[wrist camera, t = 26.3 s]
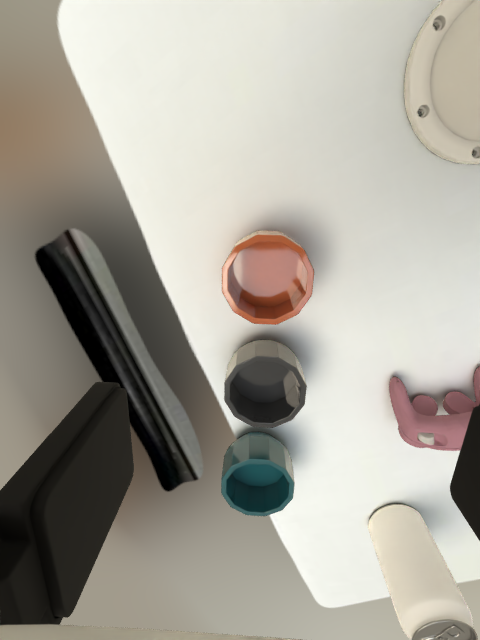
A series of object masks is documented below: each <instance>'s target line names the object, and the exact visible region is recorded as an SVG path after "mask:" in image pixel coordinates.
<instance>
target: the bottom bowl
mask: <svg viewBox="0 0 480 640" xmlns="http://www.w3.org/2000/svg"><path fill="white" fill-rule="evenodd" d="M306 387H307V386H306V382H305V378H304V374H303V371H302V367H301V365H300V363H299V361H298V359H297V357H296V355H295V354H294V352H293V351H291V350H290V349H289V348H288V347H287V346H285V345H283V344H281V343H279V342H276V341H272V340H256V341H252V342H250V343H247V344H245V345H243V346H242V347H241V348H239V349H238V350H237V351H236V352H235V354H234V355H233V356H232V358H231V360H230V362H229V364H228V367H227V372H226V378H225V396H224V400H225V402H226V404H227V405H228V407H229V409H230V410H231V412H232V413H233V415H234V416H235V417H236V418H238V419H240V420H241V421H243V422H245V423H247V424H249V425H251V426H253V427H269V428H273V427H276V426H279V425H281V424H283V423H286V422H288V421H291V420H292V419H293V418H294V417H295V416H296V415H297V413H298V412H299V411H300V410H301V408H302V407H303V406H304V404H305V396H306Z"/></svg>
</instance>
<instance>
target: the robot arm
mask: <svg viewBox="0 0 480 640" xmlns="http://www.w3.org/2000/svg"><path fill="white" fill-rule="evenodd" d="M433 25H435V26H436V30H435V29H434V28H433ZM404 101H405V106H406V111H407V116H408V119H409V121H410V124H411V126H412V129H413V131H414V132H415V134H416V135H417V137H418V138H419V140H420V141H421V142H422V143H423V144H424V145H425V146H426V147H427V148H428V149H429V150H430V151H431V152H432V153H434V154H436V155H438V156H439V157H441V158H443V159H445V160H449V161H452V162H455V163H461V164H480V0H442V1H441V3H440V4H439V5H438V6H437V7H436V8H435V9H434V10H433V12H432V13H431V15H430V16H429V17H428V19H427V20H426V22H425V23H424V25H423V26H422V28H421V30H420V32H419V34H418V36H417V38H416V40H415V42H414V44H413V46H412V50H411V53H410V56H409V59H408V62H407V67H406V73H405V79H404ZM418 110H419V111H421V116H420V117H419V115H418ZM472 151H473V152H474V154H473V156H472ZM133 471H134V464H133V454H132V443H131V433H130V422H129V412H128V401H127V392H126V389H123V388H120V385H119V384H118V383H109V382H96V383H95V384H94V385H93V386H92V387H91V388H90V389H89V391H88V392H87V393H86V394H85V395H84V396H83V397H82V399H81V400H80V401H79V402H78V403H77V404H76V405H75V407H74V408H73V409H72V410H71V411H70V412H69V414H68V415H67V416H66V417H65V418H64V419H63V420H62V421H61V423H60V424H59V425H58V426H57V427H56V428H55V429H54V430H53V432H52V433H51V434H50V435H49V436H48V437H47V438H46V439H45V440H44V441H43V443H42V444H41V445H40V446H39V447H38V448H37V449H36V451H35V452H34V453H33V454H32V455H31V456H30V457H29V459H28V460H27V461H26V462H25V463H24V465H22V466H21V468H20V469H19V470H18V471H17V472H16V473H15V474H14V476H13V477H12V478H11V479H10V480H9V481H8V482H7V484H6V485H5V486H4V487H3V488H2V489H1V490H0V640H299V639H286V638H271V637H256V636H243V635H227V634H213V633H198V632H182V631H169V630H154V629H153V630H152V629H138V628H137V629H136V628H116V627H94V626H93V627H92V626H74V625H73V626H72V625H60V622H61V620H62V618H63V617H69V616H70V615H71V614H72V612H73V610H74V608H75V606H76V604H77V602H78V599H79V597H80V595H81V593H82V591H83V588H84V586H85V584H86V581H87V579H88V577H89V575H90V573H91V570H92V568H93V566H94V564H95V561H96V559H97V557H98V554H99V552H100V550H101V548H102V546H103V543H104V541H105V539H106V536H107V534H108V532H109V530H110V528H111V525H112V523H113V521H114V519H115V516H116V514H117V512H118V510H119V507H120V505H121V503H122V501H123V498H124V496H125V494H126V491H127V489H128V487H129V485H130V483H131V480H132V477H133ZM450 492H451V496H452V498H453V500H454V502H455V503H456V505H457V507H458V508H459V510H460V511H461V513H462V514H463V516H464V517H465V519H466V520H467V522H468V524H469V525H470V527H471V528H472V530H473V531H474V533H475V534H476V536H477V537H478V539H479V540H480V404H479V406H476V407H474V408H473V410H472V413H471V417H470V420H469V424H468V427H467V430H466V434H465V437H464V440H463V444H462V447H461V451H460V454H459V457H458V461H457V464H456V467H455V471H454V474H453V478H452V481H451V485H450ZM300 640H301V639H300Z"/></svg>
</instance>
